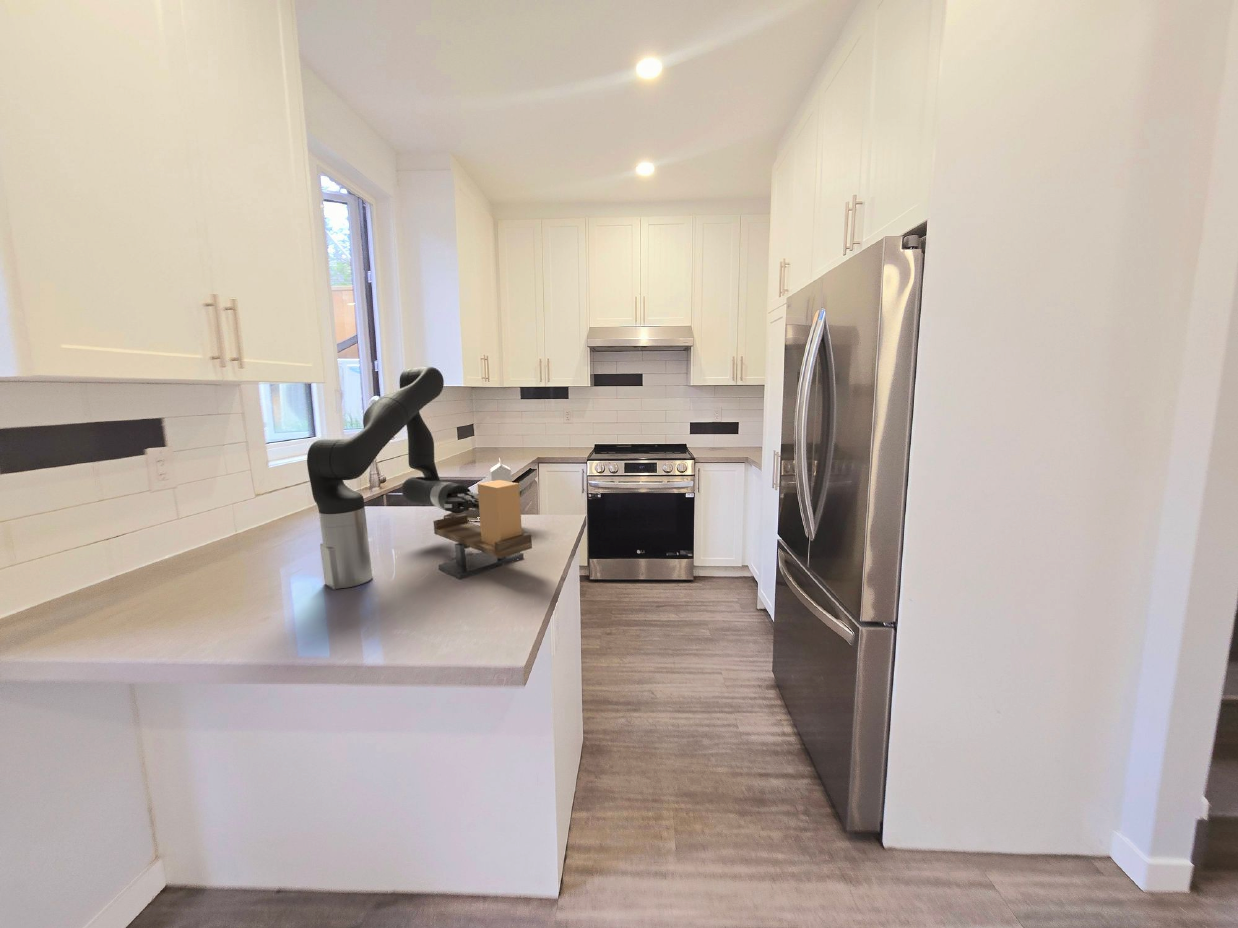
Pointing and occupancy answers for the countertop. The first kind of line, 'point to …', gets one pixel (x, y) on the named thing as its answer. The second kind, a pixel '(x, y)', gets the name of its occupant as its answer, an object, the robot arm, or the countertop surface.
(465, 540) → the beam
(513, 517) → the block
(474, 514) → the hardcover book
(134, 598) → the countertop surface
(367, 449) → the robot arm
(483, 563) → the pivot stand
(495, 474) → the milk
